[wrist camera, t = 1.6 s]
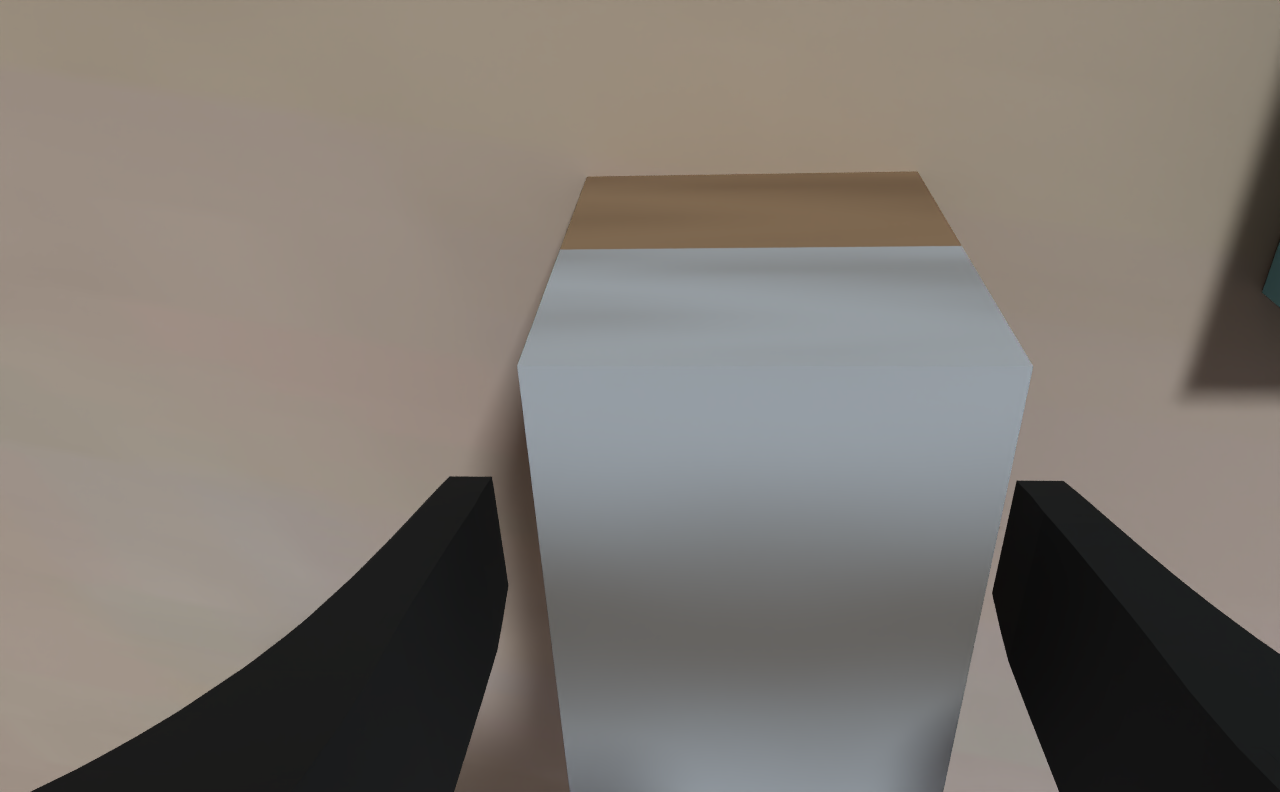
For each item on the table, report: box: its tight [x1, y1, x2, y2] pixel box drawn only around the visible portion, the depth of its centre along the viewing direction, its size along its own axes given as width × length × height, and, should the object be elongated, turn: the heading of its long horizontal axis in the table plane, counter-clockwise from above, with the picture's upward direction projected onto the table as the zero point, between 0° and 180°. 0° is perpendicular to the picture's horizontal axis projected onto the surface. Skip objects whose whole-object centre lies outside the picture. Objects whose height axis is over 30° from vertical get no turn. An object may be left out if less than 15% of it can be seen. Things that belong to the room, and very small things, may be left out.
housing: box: [517, 172, 1033, 792], centre depth 14 cm, size 8×5×6 cm, turn 2°
